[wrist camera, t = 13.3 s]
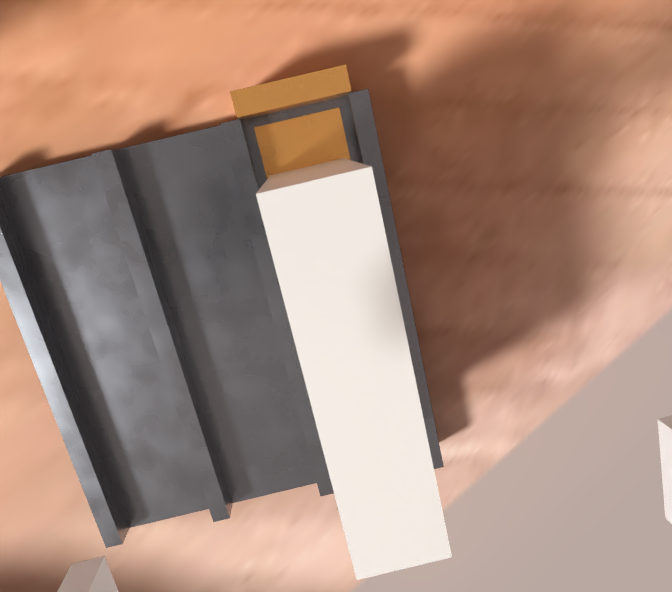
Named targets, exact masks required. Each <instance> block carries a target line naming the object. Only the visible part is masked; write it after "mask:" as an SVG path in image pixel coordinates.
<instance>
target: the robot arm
mask: <svg viewBox="0 0 672 592" xmlns="http://www.w3.org/2000/svg"><path fill="white" fill-rule="evenodd" d="M658 428H659V441H660V454H661V466H662V480H663V492H664V505H665V517H666V519H667V520H668V521H669V522H670V523H671V524H672V416H668V417H665V418H660V419H658ZM57 592H119V591H118V588H117V586H116V584H115V581H114V579H113V576H112V574H111V571H110V569H109V566H108V564H107V561H106V559H105V556H102V557H98V558H94V559H90V560H86V561H82V562H78V563H74V564H71V566H70V568H69V570H68V572H67V574H66V576H65V578H64V580H63V582H62V584H61V585H60V587H59V589H58V591H57Z"/></svg>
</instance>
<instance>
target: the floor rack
mask: <svg viewBox="0 0 672 592" xmlns="http://www.w3.org/2000/svg"><path fill="white" fill-rule="evenodd" d="M350 92H351V86H350V81H349V76H348V71H347V66H346V64H345V65H341V66H337V67H333V68H328V69H324V70H320V71H316V72H311V73H307V74H303V75H298V76H294V77H290V78H286V79H281V80H277V81H273V82H269V83H264V84H260V85H256V86H252V87H247V88H243V89H239V90H234V91H230V93H231V97H232V101H233V105H234V109H235V112H236V116H237V118H239V119H237V120H233V121H229V122H225V123H220V124H221V125H219V126H215V127H211V128H207V129H202V130H198V131H194V132H190V133H185V134H181V135H177V136H173V137H168V138H164V139H160V140H156V141H151V142H147V143H143V144H139V145H134V146H130V147H126V148H122V149H110V150H105V151H101V152H97V153H93V154H92V156H87V157H83V158H79V159H75V160H70V161H66V162H62V163H58V164H53V165H49V166H45V167H41V168H36V169H32V170H28V171H24V172H19V173H15V174H11V175H7V176H2V177H0V281H1V283H2V286H3V288H4V291H5V294H6V296H7V299H8V301H9V304H10V306H11V309H12V311H13V314H14V316H15V319H16V321H17V324H18V326H19V329H20V331H21V334H22V336H23V339H24V341H25V344H26V347H27V349H28V352H29V354H30V357H31V359H32V362H33V364H34V367H35V369H36V372H37V374H38V377H39V379H40V382H41V384H42V387H43V389H44V392H45V395H46V397H47V400H48V402H49V405H50V407H51V410H52V412H53V415H54V417H55V420H56V422H57V425H58V427H59V430H60V432H61V435H62V437H63V440H64V442H65V445H66V448H67V450H68V453H69V455H70V458H71V460H72V463H73V465H74V468H75V470H76V473H77V475H78V478H79V480H80V483H81V485H82V488H83V490H84V493H85V496H86V498H87V501H88V503H89V506H90V508H91V511H92V513H93V516H94V518H95V521H96V523H97V526H98V528H99V531H100V533H101V536H102V538H103V541H104V543H105V546H106V548H107V547H112V546H116V545H120V544H123V542H124V539H125V537H126V535H127V532H128V530H129V528H131V527H135V526H139V525H143V524H147V523H151V522H156V521H160V520H164V519H168V518H172V517H176V516H181V515H185V514H189V513H193V512H197V511H201V510H206V509H209V510H210V513H211V516H212V519H213V522H216V521H220V520H224V519H228V518H230V514H231V508H232V503H235V502H239V501H243V500H247V499H251V498H256V497H260V496H264V495H268V494H272V493H276V492H281V491H285V490H289V489H293V488H297V487H301V486H306V485H310V484H314V483H317V485H318V488H319V492H320V496H324V495H328V494H332V493H334V491H333V487H332V483H331V480H330V476H329V472H328V468H327V464H326V460H325V457H324V453H323V449H322V445H321V441H320V438H319V434H318V430H317V426H316V422H315V418H314V415H313V411H312V407H311V403H310V399H309V395H308V392H307V388H306V384H305V380H304V376H303V373H302V369H301V365H300V361H299V357H298V353H297V350H296V346H295V342H294V338H293V334H292V330H291V327H290V323H289V319H288V315H287V311H286V308H285V304H284V300H283V296H282V292H281V288H280V285H279V281H278V277H277V273H276V269H275V265H274V262H273V258H272V254H271V250H270V246H269V243H268V239H267V235H266V231H265V227H264V223H263V220H262V216H261V212H260V208H259V204H258V200H257V197H256V193H257V192H258V191H259V189H260V188H261V187H262V185H263V184H264V183H265V182H266V180H267V179H268V178H269V177H270V175H273V174H277V173H282V172H286V171H290V170H294V169H298V168H303V167H307V166H311V165H315V164H320V163H324V162H328V161H332V160H337V159H341V158H345V159H348V160H352V161H355V162H358V163H362V164H365V165H368V166H372V170H373V175H374V179H375V184H376V189H377V194H378V199H379V204H380V209H381V214H382V218H383V223H384V228H385V233H386V238H387V243H388V248H389V253H390V258H391V262H392V267H393V272H394V277H395V282H396V287H397V292H398V297H399V301H400V306H401V311H402V316H403V321H404V326H405V331H406V336H407V340H408V345H409V350H410V355H411V360H412V365H413V370H414V375H415V380H416V384H417V389H418V394H419V399H420V404H421V409H422V414H423V419H424V423H425V428H426V433H427V438H428V443H429V448H430V453H431V458H432V462H433V467H434V469H436V468H441V467H444V466H443V461H442V456H441V451H440V446H439V441H438V436H437V431H436V426H435V421H434V416H433V411H432V406H431V401H430V396H429V391H428V386H427V381H426V376H425V371H424V366H423V361H422V356H421V351H420V346H419V341H418V336H417V331H416V326H415V321H414V316H413V311H412V306H411V301H410V296H409V291H408V286H407V281H406V276H405V271H404V266H403V261H402V256H401V251H400V246H399V241H398V236H397V231H396V226H395V221H394V216H393V211H392V206H391V201H390V196H389V191H388V186H387V181H386V176H385V171H384V166H383V161H382V156H381V151H380V146H379V141H378V136H377V131H376V126H375V121H374V116H373V111H372V106H371V101H370V96H369V91H368V89H365V90H361V91H357V92H352V93H350Z"/></svg>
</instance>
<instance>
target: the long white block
mask: <svg viewBox="0 0 672 592" xmlns="http://www.w3.org/2000/svg"><path fill="white" fill-rule="evenodd" d="M256 197H257V200H258V204H259V208H260V212H261V216H262V220H263V223H264V227H265V231H266V235H267V239H268V243H269V246H270V250H271V254H272V258H273V262H274V265H275V269H276V273H277V277H278V281H279V285H280V288H281V292H282V296H283V300H284V304H285V308H286V311H287V315H288V319H289V323H290V327H291V330H292V334H293V338H294V342H295V346H296V350H297V353H298V357H299V361H300V365H301V369H302V373H303V376H304V380H305V384H306V388H307V392H308V395H309V399H310V403H311V407H312V411H313V415H314V418H315V422H316V426H317V430H318V434H319V438H320V441H321V445H322V449H323V453H324V457H325V460H326V464H327V468H328V472H329V476H330V480H331V483H332V487H333V491H334V495H335V499H336V503H337V506H338V510H339V514H340V518H341V522H342V526H343V529H344V533H345V537H346V541H347V545H348V548H349V552H350V556H351V560H352V564H353V568H354V571H355V575H356V579H357V580H359V579H363V578H367V577H372V576H376V575H380V574H384V573H388V572H392V571H396V570H401V569H405V568H409V567H413V566H417V565H421V564H425V563H430V562H434V561H437V560H442V559H446V558H450V557H452V555H451V550H450V546H449V541H448V536H447V531H446V526H445V521H444V516H443V511H442V506H441V501H440V497H439V492H438V487H437V482H436V477H435V472H434V467H433V462H432V458H431V453H430V448H429V443H428V438H427V433H426V428H425V423H424V419H423V414H422V409H421V404H420V399H419V394H418V389H417V384H416V380H415V375H414V370H413V365H412V360H411V355H410V350H409V345H408V340H407V336H406V331H405V326H404V321H403V316H402V311H401V306H400V301H399V297H398V292H397V287H396V282H395V277H394V272H393V267H392V262H391V258H390V253H389V248H388V243H387V238H386V233H385V228H384V223H383V218H382V214H381V209H380V204H379V199H378V194H377V189H376V184H375V179H374V175H373V170H372V166H368V165H365V164H362V163H358V162H355V161H352V160H348V159H345V158H341V159H337V160H332V161H328V162H324V163H320V164H315V165H311V166H307V167H303V168H298V169H294V170H290V171H286V172H282V173H277V174H273V175H270V177H269V178H268V179H267V180H266V182H265V183H264V184H263V185H262V187H261V188H260V189H259V191H258V192H257V193H256Z"/></svg>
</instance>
